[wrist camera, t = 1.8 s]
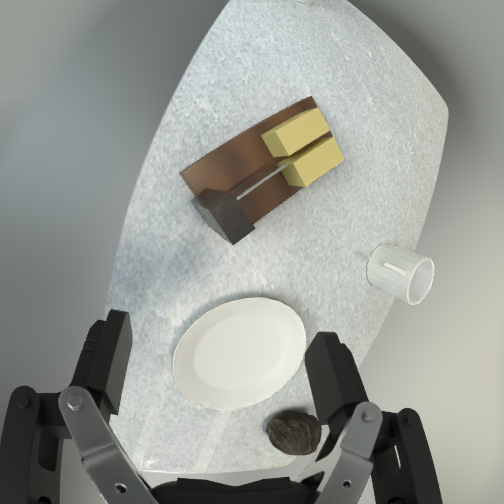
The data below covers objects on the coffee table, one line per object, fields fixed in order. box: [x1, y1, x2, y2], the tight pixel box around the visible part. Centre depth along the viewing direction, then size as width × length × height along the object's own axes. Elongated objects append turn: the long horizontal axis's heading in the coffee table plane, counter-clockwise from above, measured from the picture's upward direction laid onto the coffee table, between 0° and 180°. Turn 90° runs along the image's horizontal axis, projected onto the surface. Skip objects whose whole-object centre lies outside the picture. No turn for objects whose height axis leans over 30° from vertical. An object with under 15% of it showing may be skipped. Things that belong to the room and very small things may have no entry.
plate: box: [172, 297, 307, 410], centre depth 39 cm, size 21×21×2 cm
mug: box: [367, 243, 434, 305], centre depth 41 cm, size 8×12×10 cm, turn 66°
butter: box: [261, 107, 344, 187], centre depth 31 cm, size 7×7×4 cm
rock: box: [266, 412, 322, 455], centre depth 45 cm, size 10×11×10 cm
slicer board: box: [180, 96, 333, 241], centre depth 33 cm, size 20×10×2 cm, turn 123°
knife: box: [191, 163, 288, 245], centre depth 27 cm, size 10×4×9 cm, turn 123°
